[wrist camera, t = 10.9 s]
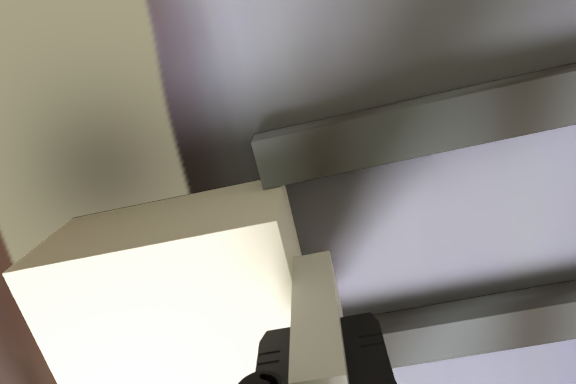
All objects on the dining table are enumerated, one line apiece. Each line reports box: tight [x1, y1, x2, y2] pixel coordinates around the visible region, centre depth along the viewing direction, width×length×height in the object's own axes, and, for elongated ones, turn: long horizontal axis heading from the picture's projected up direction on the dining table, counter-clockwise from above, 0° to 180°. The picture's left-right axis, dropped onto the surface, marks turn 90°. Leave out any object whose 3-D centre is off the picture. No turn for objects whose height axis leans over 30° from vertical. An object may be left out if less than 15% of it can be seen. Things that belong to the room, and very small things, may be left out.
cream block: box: [2, 180, 302, 384], centre depth 18 cm, size 10×7×5 cm
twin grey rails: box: [251, 63, 576, 368], centre depth 18 cm, size 22×12×2 cm, turn 103°
